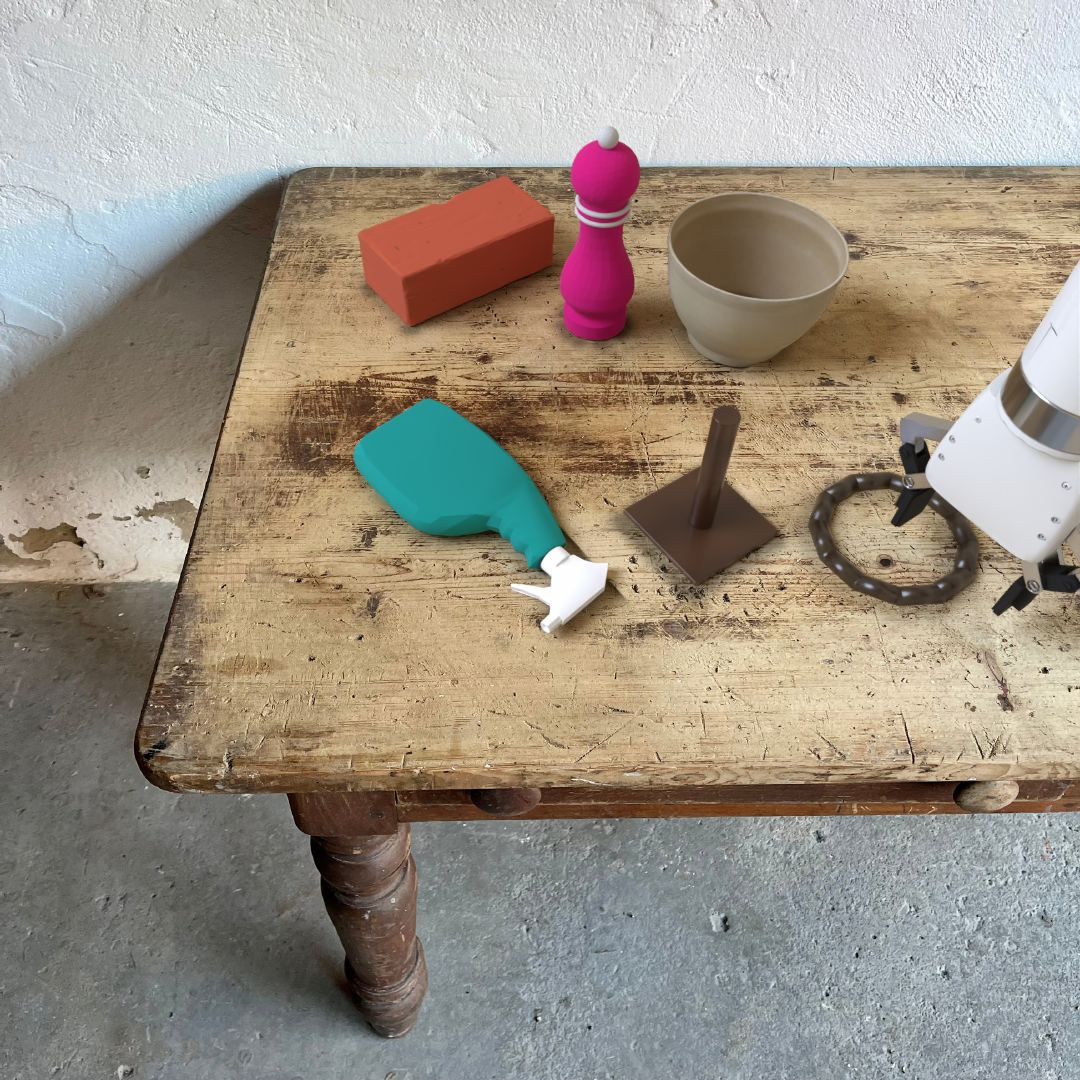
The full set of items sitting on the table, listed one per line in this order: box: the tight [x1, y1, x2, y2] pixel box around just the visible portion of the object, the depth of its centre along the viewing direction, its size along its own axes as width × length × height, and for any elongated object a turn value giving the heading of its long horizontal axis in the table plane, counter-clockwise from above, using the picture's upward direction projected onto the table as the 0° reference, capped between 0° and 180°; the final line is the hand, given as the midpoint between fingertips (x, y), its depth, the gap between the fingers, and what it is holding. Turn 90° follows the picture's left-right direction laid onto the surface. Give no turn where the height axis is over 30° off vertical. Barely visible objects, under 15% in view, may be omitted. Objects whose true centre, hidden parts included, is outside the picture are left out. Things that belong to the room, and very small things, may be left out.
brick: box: [357, 175, 556, 327], centre depth 91 cm, size 18×9×6 cm, turn 126°
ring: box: [807, 471, 981, 607], centre depth 72 cm, size 13×13×2 cm
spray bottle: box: [353, 398, 609, 634], centre depth 73 cm, size 3×11×24 cm
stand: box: [622, 405, 780, 587], centre depth 68 cm, size 9×9×13 cm
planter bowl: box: [667, 191, 850, 368], centre depth 84 cm, size 16×16×11 cm
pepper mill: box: [559, 125, 641, 341], centre depth 82 cm, size 7×7×20 cm
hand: (954, 559), depth 68 cm, fingers open, 9 cm apart
